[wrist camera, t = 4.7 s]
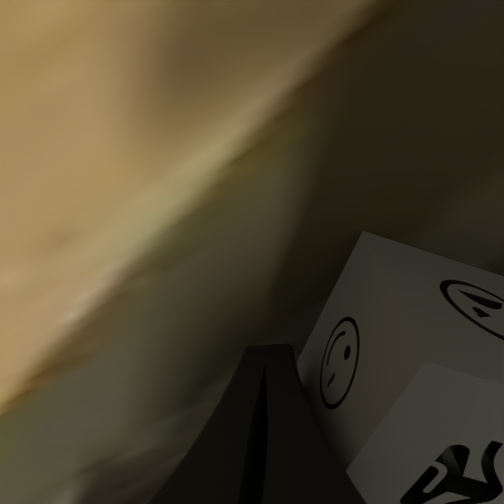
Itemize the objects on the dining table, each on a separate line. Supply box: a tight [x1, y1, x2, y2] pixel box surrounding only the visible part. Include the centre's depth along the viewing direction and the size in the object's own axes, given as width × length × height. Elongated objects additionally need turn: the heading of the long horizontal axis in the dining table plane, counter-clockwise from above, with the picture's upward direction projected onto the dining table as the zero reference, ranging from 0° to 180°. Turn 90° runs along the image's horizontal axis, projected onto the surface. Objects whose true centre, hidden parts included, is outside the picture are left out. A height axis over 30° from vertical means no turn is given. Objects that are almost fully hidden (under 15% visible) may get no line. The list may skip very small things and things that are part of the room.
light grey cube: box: [297, 231, 504, 504], centre depth 9 cm, size 5×5×5 cm
